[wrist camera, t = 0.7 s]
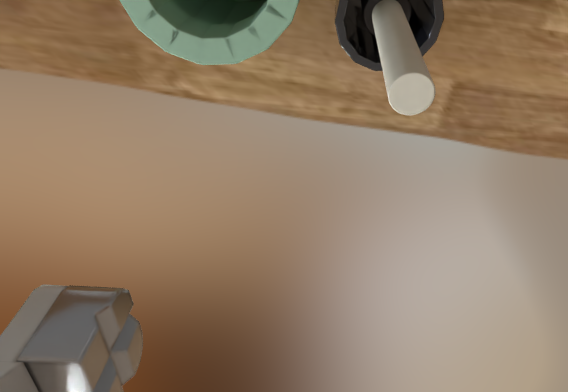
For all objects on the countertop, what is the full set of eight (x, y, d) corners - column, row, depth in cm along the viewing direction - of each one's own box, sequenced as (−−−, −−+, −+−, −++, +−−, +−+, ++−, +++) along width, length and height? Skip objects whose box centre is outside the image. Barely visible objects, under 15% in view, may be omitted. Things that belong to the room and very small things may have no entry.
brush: (360, -27, 33) (376, 60, 19) (403, -29, 32) (453, 58, 18) (359, 17, 34) (374, 127, 20) (401, 15, 34) (444, 126, 20)
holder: (335, -54, 33) (334, -35, 27) (430, -59, 32) (450, -41, 26) (335, 37, 36) (335, 72, 30) (421, 35, 35) (438, 69, 30)
